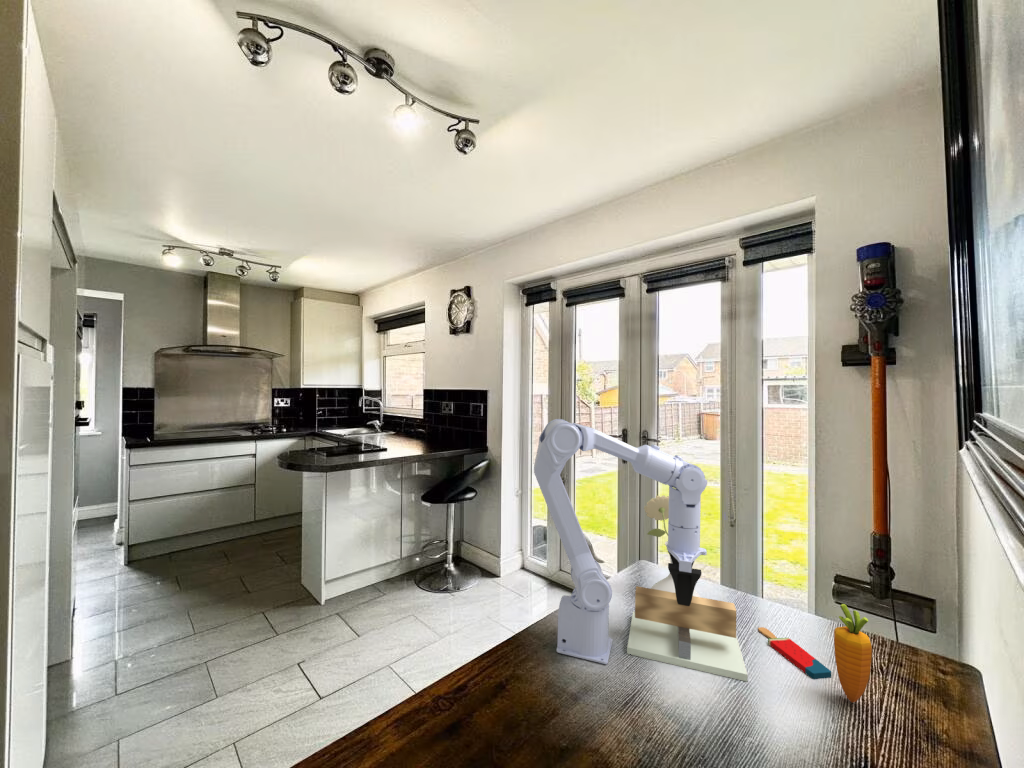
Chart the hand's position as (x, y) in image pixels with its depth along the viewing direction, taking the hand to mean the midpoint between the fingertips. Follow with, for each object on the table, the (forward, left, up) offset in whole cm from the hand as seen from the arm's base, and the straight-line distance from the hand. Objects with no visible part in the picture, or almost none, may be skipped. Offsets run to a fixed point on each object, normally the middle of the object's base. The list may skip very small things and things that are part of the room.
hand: (682, 595), depth 81 cm
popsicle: (+19, +7, -11) cm, 23 cm away
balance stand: (0, +2, -10) cm, 11 cm away
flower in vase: (-2, +19, -11) cm, 21 cm away
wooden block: (0, +2, -6) cm, 6 cm away
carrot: (+25, -4, -11) cm, 28 cm away
